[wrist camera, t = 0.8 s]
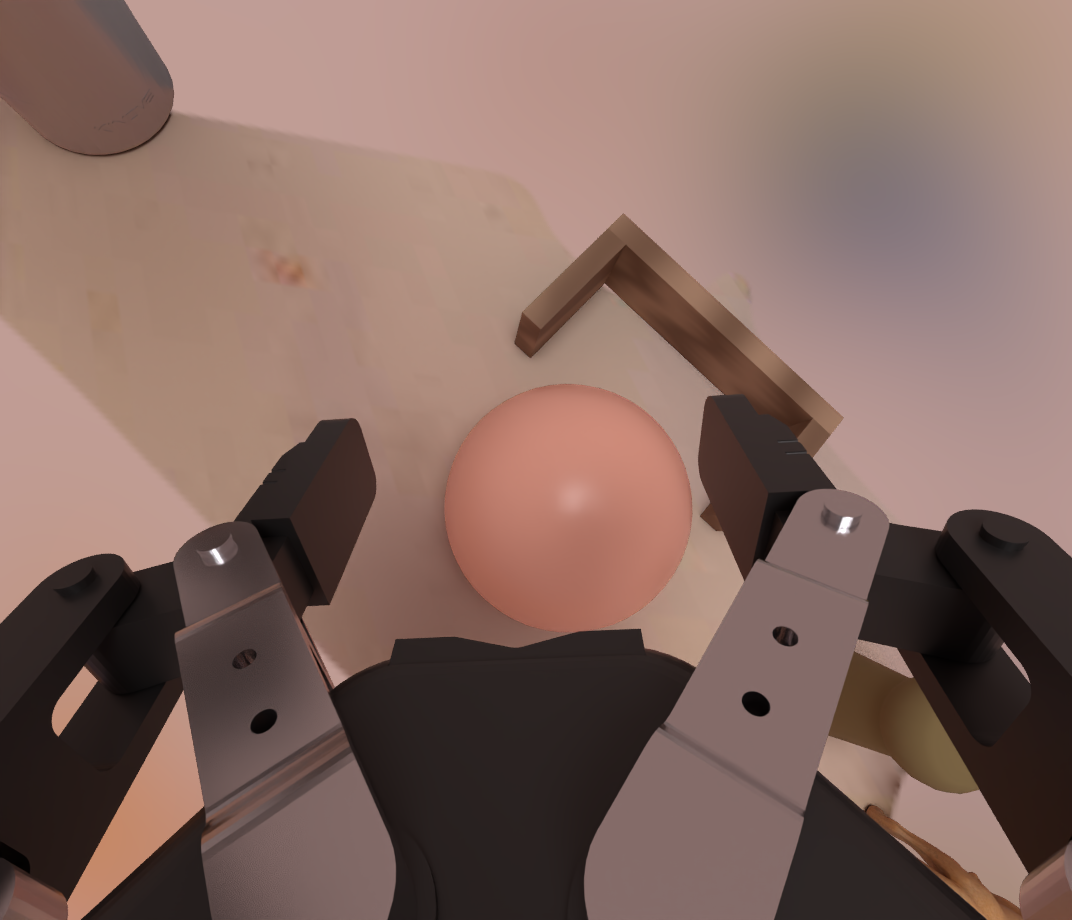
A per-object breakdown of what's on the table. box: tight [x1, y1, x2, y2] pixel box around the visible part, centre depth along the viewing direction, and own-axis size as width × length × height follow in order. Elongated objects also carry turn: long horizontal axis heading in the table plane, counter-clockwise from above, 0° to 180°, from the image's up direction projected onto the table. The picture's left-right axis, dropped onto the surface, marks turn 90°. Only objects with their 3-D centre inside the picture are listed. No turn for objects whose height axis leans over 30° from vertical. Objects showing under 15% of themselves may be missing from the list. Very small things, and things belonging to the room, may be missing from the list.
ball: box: [444, 384, 692, 632], centre depth 28 cm, size 13×13×13 cm
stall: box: [515, 214, 843, 531], centre depth 34 cm, size 19×10×5 cm, turn 47°
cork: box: [828, 652, 979, 794], centre depth 30 cm, size 6×6×11 cm
